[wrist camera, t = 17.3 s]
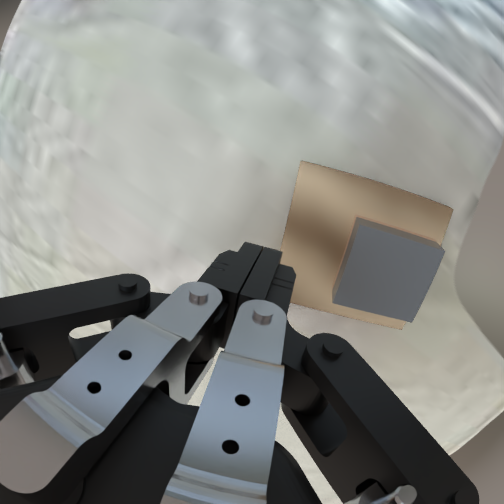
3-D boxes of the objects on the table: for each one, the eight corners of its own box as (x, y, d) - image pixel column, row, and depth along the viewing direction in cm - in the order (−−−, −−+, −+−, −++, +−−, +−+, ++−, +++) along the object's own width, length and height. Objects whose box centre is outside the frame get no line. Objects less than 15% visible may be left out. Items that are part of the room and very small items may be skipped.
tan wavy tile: (301, 160, 20) (300, 161, 19) (449, 206, 18) (453, 209, 18) (270, 291, 25) (268, 296, 24) (400, 324, 23) (401, 329, 22)
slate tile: (359, 224, 18) (445, 251, 17) (355, 214, 20) (434, 239, 19) (332, 303, 20) (411, 322, 19) (331, 286, 22) (405, 305, 21)
